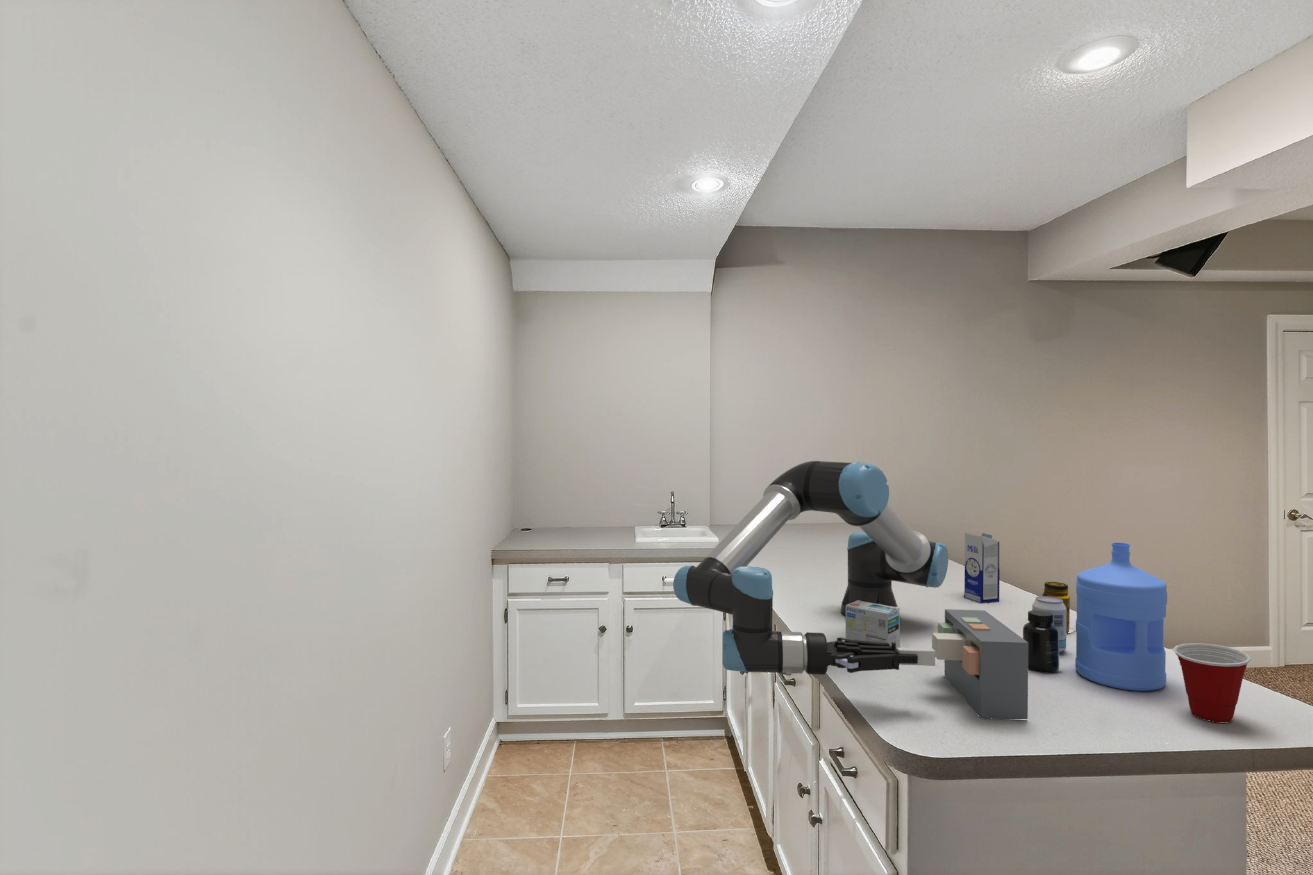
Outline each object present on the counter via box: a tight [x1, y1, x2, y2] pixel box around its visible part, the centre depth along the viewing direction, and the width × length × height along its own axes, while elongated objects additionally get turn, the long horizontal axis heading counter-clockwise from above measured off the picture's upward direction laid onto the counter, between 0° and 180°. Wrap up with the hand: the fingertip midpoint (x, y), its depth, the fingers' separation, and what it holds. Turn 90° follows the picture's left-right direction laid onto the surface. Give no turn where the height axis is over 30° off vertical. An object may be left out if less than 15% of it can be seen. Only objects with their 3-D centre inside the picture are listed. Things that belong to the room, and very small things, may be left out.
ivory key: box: [931, 632, 966, 661], centre depth 132 cm, size 7×4×4 cm, turn 84°
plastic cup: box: [1172, 642, 1252, 723], centre depth 122 cm, size 11×11×12 cm
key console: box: [943, 608, 1029, 720], centre depth 132 cm, size 8×21×14 cm, turn 174°
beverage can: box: [1031, 595, 1067, 654], centre depth 158 cm, size 7×7×12 cm
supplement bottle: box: [1022, 609, 1060, 674], centre depth 147 cm, size 7×7×12 cm
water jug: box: [1074, 542, 1168, 692], centre depth 141 cm, size 16×16×28 cm
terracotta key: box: [962, 646, 980, 675], centre depth 125 cm, size 7×4×4 cm, turn 84°
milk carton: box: [963, 532, 1001, 605], centre depth 203 cm, size 7×7×20 cm
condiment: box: [1042, 581, 1076, 633], centre depth 173 cm, size 7×8×12 cm
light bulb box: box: [845, 600, 901, 649], centre depth 158 cm, size 11×7×11 cm, turn 48°
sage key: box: [937, 622, 953, 634], centre depth 139 cm, size 7×4×4 cm, turn 84°
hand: (933, 657), depth 126 cm, fingers closed
